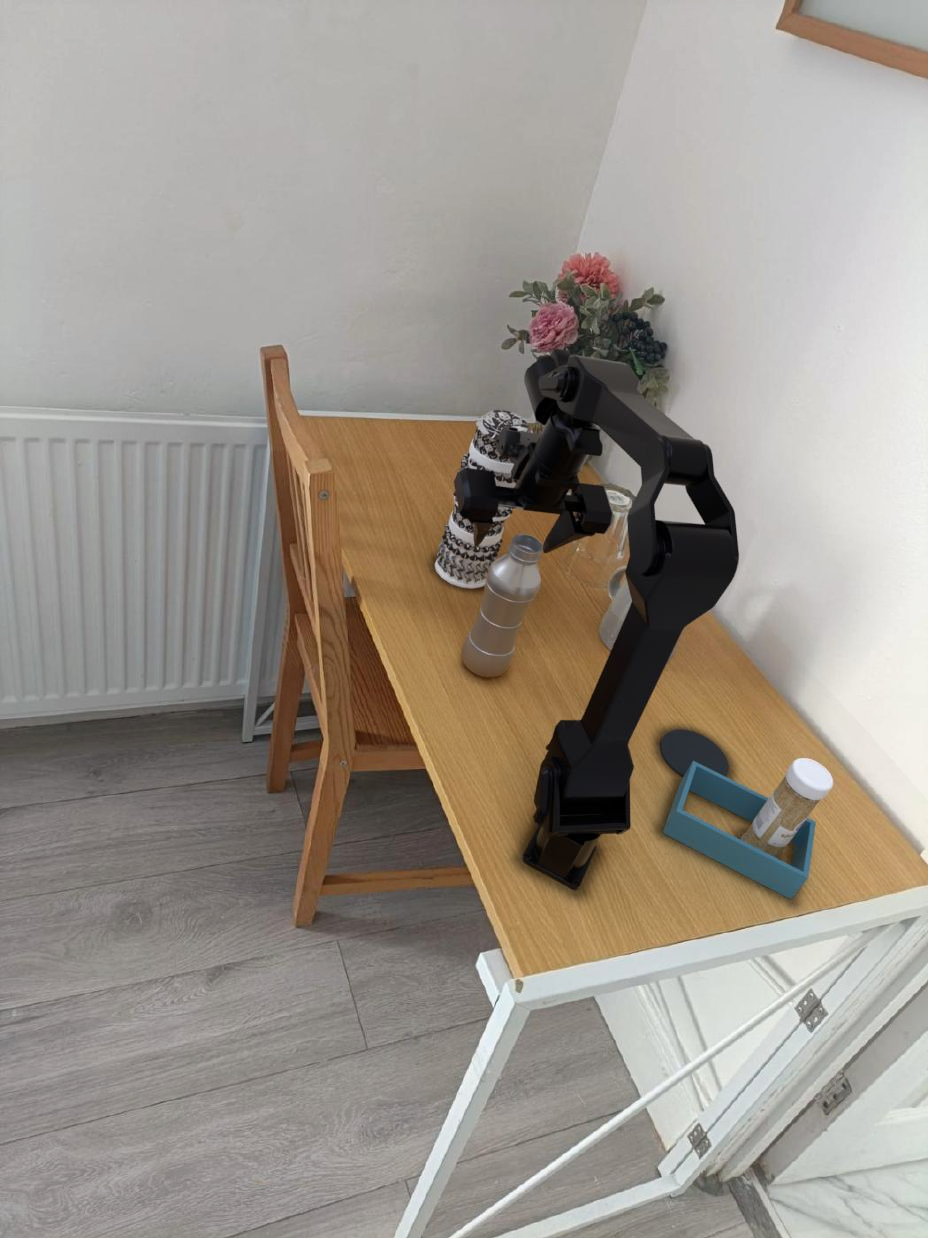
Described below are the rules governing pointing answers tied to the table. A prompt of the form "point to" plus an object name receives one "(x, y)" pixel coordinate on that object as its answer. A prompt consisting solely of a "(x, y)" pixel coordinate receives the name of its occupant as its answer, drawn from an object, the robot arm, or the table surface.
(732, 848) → the blue open rectangular frame
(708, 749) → the coaster
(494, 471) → the white patterned cylinder
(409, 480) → the table surface
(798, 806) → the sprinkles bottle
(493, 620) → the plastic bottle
